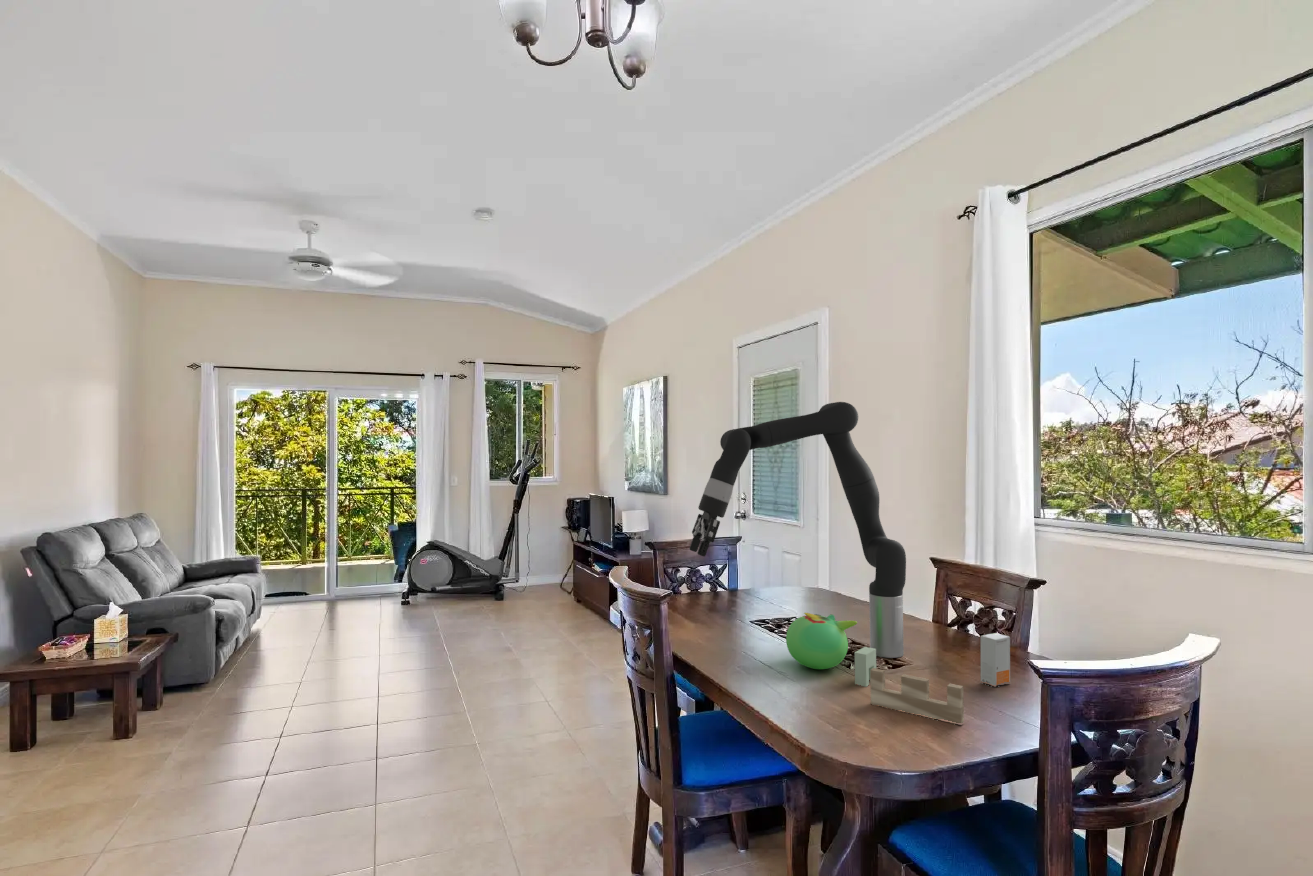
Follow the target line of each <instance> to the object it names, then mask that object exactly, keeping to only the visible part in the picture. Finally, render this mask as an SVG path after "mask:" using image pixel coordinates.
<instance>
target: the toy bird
mask: <svg viewBox="0 0 1313 876" xmlns="http://www.w3.org/2000/svg"><path fill="white" fill-rule="evenodd" d="M803 614H804V615H802V616H800V617H798V618H796V619H795V620H793V621H792V622H791V624H790V625H789V627H788V629H787V631H786V635H785V636H786V637H785V641H786V647H787V650H788V653H789V654H790V656H791V657H792V658H793V659H794V660H795V661H796V662H797V663H799V664H800V665H802V666H804V667H807V668H809V669H814V670H828V669H831V668H834V667H836V666H839V664H841V663H842V662H843V660H844V659H845V657H846V655H847V653H848V648H849V642H848V641H849V640H848V638H847V634H846V632H845V630H848V629H850V628H852V627H854V626H856V625H857V624H858V621H857V620H836V616H835V615H834V614H829V615H828V616H825V615H821V614H817V613H814V614H813V613H809V612H804V613H803Z"/></svg>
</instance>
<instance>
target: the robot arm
mask: <svg viewBox="0 0 1313 876" xmlns="http://www.w3.org/2000/svg"><path fill="white" fill-rule="evenodd" d="M858 421H859V412H858V410H857V409H856V407H855V406H854V405H853V404H850V403H849V402H844V401H836V402H830V403H826V404H824V405H823V406H821V407H820V409H819V410H818V411H816V412H812V413H807V414H803V415H798V416H791V417H785V418H779V419H775V420H769V421H766V422H761V423H758V424H754V425H750V426H744V427H740V428H733V429H730V430H727V431H725V432H724V433H723V434H722V436H721V437H720V441H719V442H720V447H721V449H722V450H723V451H722V452H721V455H720V458H719V459H718V460H716V461H715V463H714V465H713V467H712V470H711V472H710V477H709V479H708V481H707V483H706V485H705V487H704V490H703V493H702V496H701V498H700V501H699V504H698V506H697V507H698V510H700V511H702V512H703V513H701V514H700V513H698V515H697V518H696V520H695V523H694V526H693V528H692V531H691V534H692V540H691V542H690V546H689V549H688V550H690V551H692V552H694V553H696V554H697V555H698V556H700V557H704V558H705V557H706V555H707V553H708V550H709V547H710V545H711V544H712V543H714V542H715V539H716V537H717V536H716V535H717V533H718V531H719V527H720V524H721V521H720V520H717V519H718V517H719V518H724V517H725V515H726V512H727V509H728V506H729V504H730V500H731V498H732V494H733V490H734V486H735V484H736V480H737V477H738V474H739V471H740V469H741V467H742V466H743V464H744V462H745V460H746V458H747V456H748V454H749V452H750V451H751V450H755V449H764V448H765V449H766V448H770V447H773V446H779V445H782V444H783V445H784V444H786V443H789V442H793V441H797V440H802V439H804V438H809V437H812V436H813V437H814V436H819V435H822V436H823V438H824V440H825V442H826V444H827V447H828V448H829V451H830V453H831V455H832V459H833V462H834V464H835V468H836V470H837V473H838V476H839V479H840V483H841V486H842V489H843V491H844V494H845V497H846V500H847V502H848V506H849V508H850V510H851V513H852V516H853V520H854V521H855V524H856V527H857V531H858V534H859V535H858V536H859V539H860V543H861V548H862V551H863V555H864V557H865V560H866V561H867V564H869V565H870V566H871V567H872V568H874V569H875V575H874V577H875V578H874V580H873V581H871V582H870V583H869V585H868V591H869V592H868V594H869V595H868V596H869V598H868V599H869V604H868V605H869V648H874V649H876V657H881V658H891V659H892V658H900V657H903V656H904V605H903V604H904V600H903V599H904V593H903V591H904V588H905V585H906V577H907V576H906V573H907V556H906V551H905V548H904V546H903V545H902V544H901V542H899V541H897V540H894V539H891V538H888V536H886V535H887V534H886V532H885V530H884V528H883V525H882V522H881V517H880V492H879V491H880V490H879V488H878V485H877V482H876V479H875V476H874V473H873V471H872V470H871V467H870V466H869V464H868V463H867V461H866V460H865V459H864V458H863V456H862V455H861V454H860V453H859V451H858V450H857V447H855V444H854V442H853V439H852V436H851V433H850V432H851V431H853V430H854V429H855V428H856V426H857V425H858Z"/></svg>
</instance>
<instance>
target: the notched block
mask: <svg viewBox="0 0 1313 876" xmlns="http://www.w3.org/2000/svg"><path fill="white" fill-rule="evenodd" d="M873 668H876V669H877V656H876V649H874V648H870V646H868V647H867V646H863V647H862V648H860V649H859V650H857V651H855V652H854V685H856V684H858V685H857V686H860V685H861V687H865V688H867V687H868V685H869V686H870V681H869V680H870V670H871V669H873Z"/></svg>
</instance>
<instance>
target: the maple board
mask: <svg viewBox="0 0 1313 876" xmlns="http://www.w3.org/2000/svg"><path fill="white" fill-rule="evenodd" d="M900 682H901V683H900V685H901V686H900V687H901V691H898V690H894V689H891V688H890V689H889V688H886V669H880V668H877V667H876V668H873V669H871V670H870V681H869V686H870V705H871V704H872V706H875V705H879V706H883V707H887V708H886V709H888V708H891V709H890V710H892V709H895V710H894V711H896V710H902V711H905V712H909V713H914V714H921V715H925V716H928V717H932V718H936V719H944V720H948V721H952V722H956V723H963V722H964V719H965V716H964V715H965V713H964V705H965V704H964V685H958V684H954V683H948V684H947V685H946V689H947V690H946V695H947V696H946V698H947V701H944V700H939V699H934V698H930V679H929V678H925V677H919V676H915V675H909V674H904V673H903V674H902V675H901V676H900ZM879 706H878V707H879ZM883 707H882V708H883ZM964 723H965V722H964Z"/></svg>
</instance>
